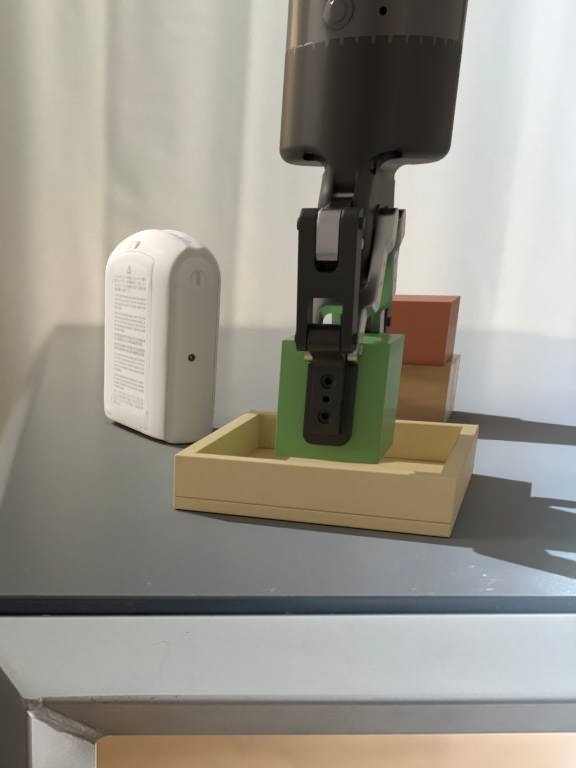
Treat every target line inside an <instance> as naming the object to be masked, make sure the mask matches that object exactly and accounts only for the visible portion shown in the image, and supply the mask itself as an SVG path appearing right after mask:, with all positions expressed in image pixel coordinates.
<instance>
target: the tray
mask: <svg viewBox="0 0 576 768" xmlns="http://www.w3.org/2000/svg"><path fill="white" fill-rule="evenodd" d="M276 422H277V411H269V410H254V409H251V410H249V411H248V412H247V411H246V412H245V413H244V414H242V415H240V416H238V417H237V418H235V419H234V420H232V421H230V422H229V423H226V424H225V425H223V426H222V427H219V428H218V429H216V430H214V431H212V433H211V434H210V435H208V436H206V437H204V438H203V439H201V440H199V441H198V442H195V443H191V444H190V445H189V446H187V447H186V448H184V449H182V450H180V451H179V452H178V453H175V454H174V461H173V462H174V464H173V465H174V466H173V468H174V469H173V470H174V471H173V498H172V500H173V501H172V502H173V503H172V508H173V509H174V510H183V511H184V510H185V511H194V512H203V513H214V514H222V515H232V516H240V517H241V516H242V517H249V518H260V519H270V520H279V521H289V522H298V523H307V524H317V525H327V526H334V527H335V526H337V527H345V528H355V529H364V530H374V531H382V532H383V531H384V532H392V533H402V534H412V535H420V536H421V535H423V536H432V537H439V538H440V537H441V538H450V537H451V534H452V532H453V529H454V525H455V523H456V520H457V517H458V515H459V512H460V509H461V507H462V503H463V502H464V501H463V500H464V498H465V495H466V493H467V490H468V486H469V484H470V481H471V478H472V475H473V473H474V467H475V458H476V452H477V445H478V439H479V433H480V431H479V430H480V425H479V424H470V423H469V424H468V423H456V422H455V423H452V422H446V423H440V422H424V421H409V420H395V428H394V437H393V445H392V446H391V448H390V449H389V450H388V451H387V453H386V454H385V455H384V457H383V458H382V459H381V460H380V462H379V463H378V464H367V463H355V462H343V461H330V460H318V459H306V458H294V457H281V456H274V452H275V437H276Z"/></svg>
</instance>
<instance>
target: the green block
mask: <svg viewBox="0 0 576 768" xmlns="http://www.w3.org/2000/svg"><path fill="white" fill-rule="evenodd" d="M294 337H295V334H294V335H292V336H289V337H286V338H284V339H281V348H280V349H281V350H280V361H279V362H280V363H279V378H278V379H279V380H278V381H279V382H278V391H277V392H278V393H277V408H276V409H277V410H276V412H277V422H276V437H275V452H274V456H281V457H294V458H306V459H318V460H330V461H343V462H355V463H367V464H378V463H379V462H380V460H381V459H382V458H383V457H384V455H385V454H386V453H387V451H388V450H389V449H390V448H391V446H392V445H393V437H394V428H395V420H396V411H397V402H398V393H399V384H400V375H401V366H402V357H403V348H404V339H405V335H404V334H378V333H364V339H363V345H364V353H363V356H361V358H360V362H359V364H357V365H358V376H357V386H356V396H355V407H354V417H353V428H352V436H351V438H350V440H349V441H348V442H347V443H346V444H345V445H343V446H326V445H313V444H309V443H307V442H306V441H305V440H304V438H303V422H304V410H305V397H306V384H307V371H308V364H309V363H311V362H305V361H304V354H303V353H302V351H297V349H296V343H295V341H294Z"/></svg>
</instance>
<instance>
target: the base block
mask: <svg viewBox="0 0 576 768" xmlns="http://www.w3.org/2000/svg"><path fill="white" fill-rule="evenodd" d="M461 357H462V354H461V353H453V355H452V356H451V357H450V358H449V359H448V361H447V362H446V363H445V364H444V365H443V366H441V365H418V364H402V366H401V375H400V384H399V393H398V402H397V411H396V420H409V421H424V422H440V423H448V420H449V418H450V416H451V415H452V413H453V411H454V409H455V401H456V395H457V387H458V379H459V374H460V373H459V371H460V364H461Z"/></svg>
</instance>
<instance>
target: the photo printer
mask: <svg viewBox="0 0 576 768" xmlns="http://www.w3.org/2000/svg"><path fill="white" fill-rule="evenodd" d="M221 288H222V276H221V268H220V265H219V263H218V260H217V258H216V257H215V255H214V254H213V252H212V251H211V250H210V249H209V248H208V247H207V245H205V244H203V243H202V242H201V241H200V240H198V239H196V238H195V237H194V236H192V235H190V234H188V233H186V232H183V231H180V230H176V229H157V228H153V229H152V228H151V229H145V230H141V231H137V232H136V233H133V234H132V235H129V236H128V237H127V238H125V239H124V240H122V241H121V242H120V243H119V244H118V245H117V246H116V247H115V248H114V250H113V251H112V252H111V253H110V255H109V257H108V259H107V263H106V266H105V272H104V369H103V371H104V372H103V374H104V377H103V409H104V415H105V416H106V418H108V419H110V420H111V421H114V422H116V423H118V424H120V425H123V426H126V427H128V428H131V429H133V430H135V431H138V433H139V432H140V433H142V434H144V435H147V436H148V437H151V438H154V439H157V440H161V441H164V442H166V443H169V444H194V443H196V442H198V441H199V440H201V439H203V438H204V437H206V436H208V435H210V434H211V433H213V430H214V429H213V428H214V422H215V405H216V391H217V390H216V389H217V372H218V351H219V331H220V314H221V313H220V312H221V290H222V289H221Z"/></svg>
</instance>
